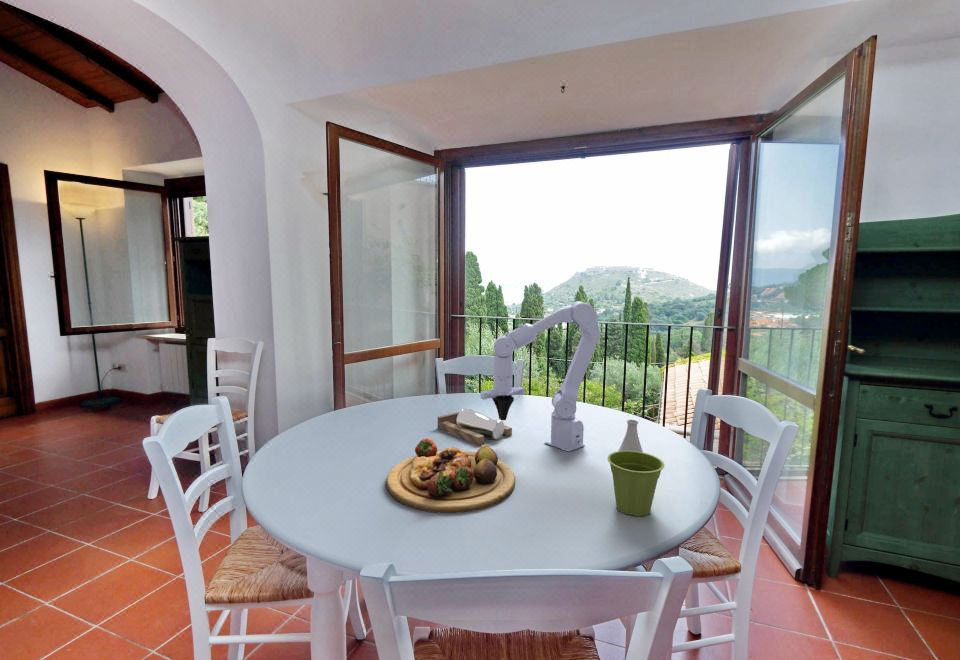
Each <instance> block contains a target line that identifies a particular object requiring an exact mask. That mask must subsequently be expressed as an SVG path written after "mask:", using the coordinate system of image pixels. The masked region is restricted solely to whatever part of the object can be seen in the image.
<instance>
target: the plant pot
mask: <svg viewBox="0 0 960 660" xmlns="http://www.w3.org/2000/svg"><path fill="white" fill-rule="evenodd" d="M607 461H608V462H609V465H610V471H611V474H612V480H613V489H614V499H615V506H616V508H617V509H618V510H619V511H620V512H621V513H623V514H626V515H632V516H635V517H644V516H646V515H649V514H650V512H651V509H652V507H653V506H652V505H653V501H654V496H655V492H656V489H657V484H658V480H659V478H660V476H661V472H662V470H664V468H665V463H664V461H663V460H662V459H661V458H659V457H657V456H655V455H653V454H650V453H646V452H644V451H643V452H638V451H619V450H617V451H613V452H611V453H609V454H608V455H607Z"/></svg>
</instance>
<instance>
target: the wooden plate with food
mask: <svg viewBox="0 0 960 660" xmlns="http://www.w3.org/2000/svg"><path fill="white" fill-rule="evenodd" d="M414 451H415V454H416V455H413V456H411V457H408V458H405V459H404V460H402V461H400V462H399V463H397V464H396V465H395V466H394V467H392V469H391V470H390V471H389V473H388V475H387V477H386V481H385V482H386V484H385V485H386V489H387V491H388V492H389V494H390V495H391V497H393V498H394V499H395V501H397V502H398V503H400V504H401V505H403V506H406V505H407V506H406V507H410V508H411V507H412V508H411V509H415V508H416V509H415V510H418V509H420V510H419V511H422V510H424V511H423V512H428V511H431V512H430V513H437V512H440V513H441V514H457V513H456V512H461V513H469V512H473V510H475V511H479V509H480V510H483V508H484V509H486V508H487V509H488V508H489V507H492V506H496V505H498V504H499V503H501V502H502V501H504V500H505V499H507V498H508V497H509V496H510V495H511V493H513V491H514V489H515V486H516V476H515V473H514V472H513V470H512V468H511V467H510V466H509V465H508V464H506V463H505V462H504V461H502V460H501V459H499V457H498V455H497V453H496V451H494V449H493V448H492V447H490V446H489V445H487V444H482V445H480V447H479V448H478V450H477V451H472V450H471V451H470V450H461V449H459V448H457V447H454V446H452V447H451V448H450V447H447V448H445V449H443V450H438V447H437V445H436V443H435V441H434V440H433V439H431V438H429V437H426V438H423V439H421V440H420V442H419V443H418V444H417V443H416V447H414ZM468 511H469V512H468ZM440 513H439V514H440Z"/></svg>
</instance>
